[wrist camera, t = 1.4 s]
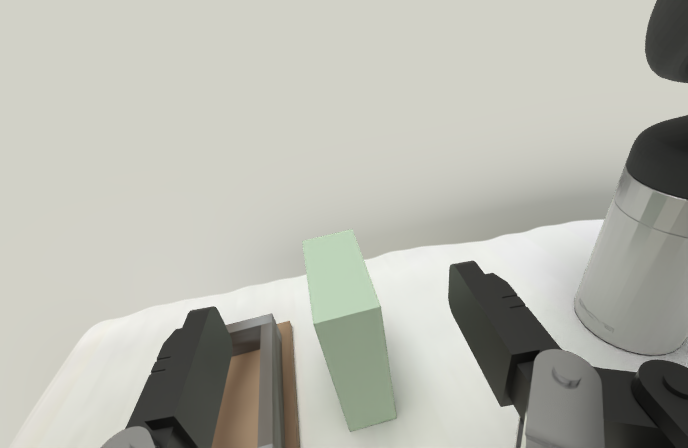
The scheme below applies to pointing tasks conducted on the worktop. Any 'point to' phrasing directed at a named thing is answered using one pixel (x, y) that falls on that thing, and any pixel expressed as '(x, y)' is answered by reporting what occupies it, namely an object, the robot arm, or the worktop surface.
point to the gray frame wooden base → (259, 388)
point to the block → (349, 328)
